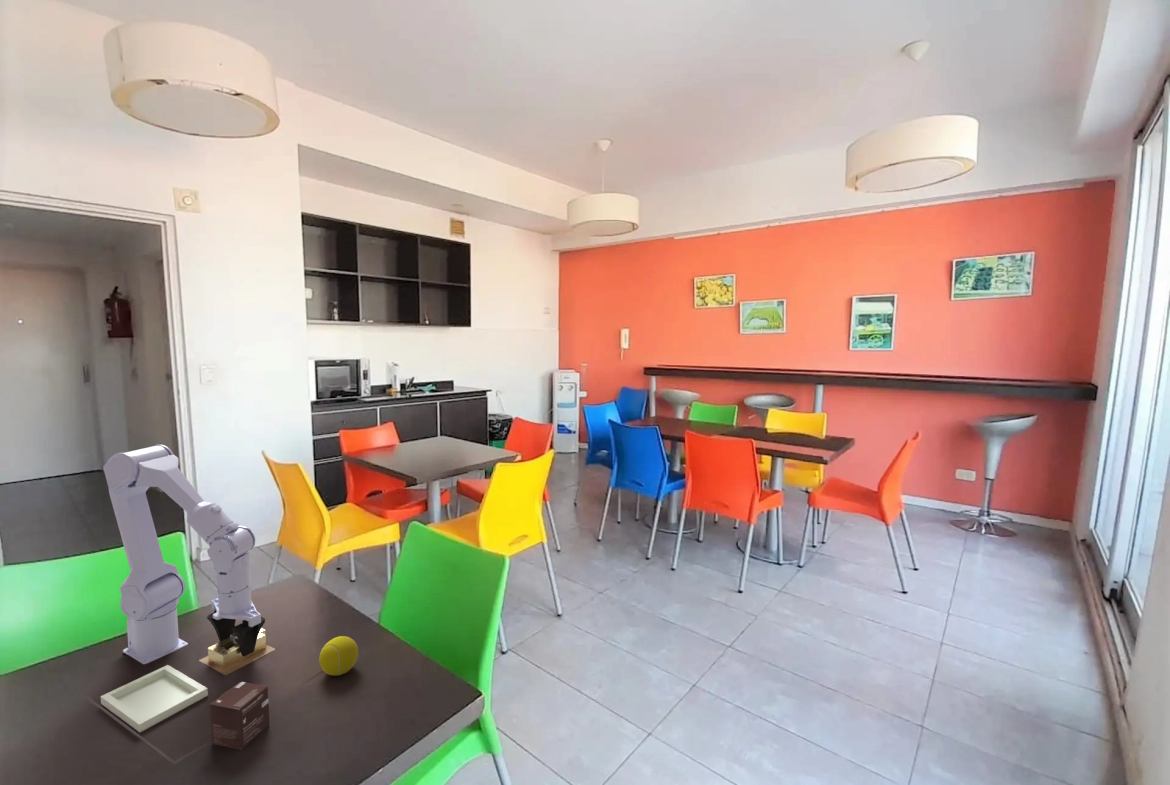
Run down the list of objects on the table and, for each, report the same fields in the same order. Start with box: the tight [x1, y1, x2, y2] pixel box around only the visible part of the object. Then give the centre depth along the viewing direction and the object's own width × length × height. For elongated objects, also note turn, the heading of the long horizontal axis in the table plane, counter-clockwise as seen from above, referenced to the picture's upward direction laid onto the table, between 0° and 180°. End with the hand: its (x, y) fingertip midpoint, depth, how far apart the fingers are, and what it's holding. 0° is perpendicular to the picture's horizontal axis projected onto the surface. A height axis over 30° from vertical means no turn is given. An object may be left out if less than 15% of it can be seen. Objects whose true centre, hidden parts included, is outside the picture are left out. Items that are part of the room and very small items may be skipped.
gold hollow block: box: [207, 627, 267, 670], centre depth 109 cm, size 6×10×3 cm, turn 153°
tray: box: [100, 664, 209, 734], centre depth 95 cm, size 14×10×2 cm
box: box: [209, 681, 271, 750], centre depth 87 cm, size 6×6×7 cm
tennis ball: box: [318, 635, 359, 677], centre depth 104 cm, size 7×7×7 cm
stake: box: [230, 633, 239, 647], centre depth 108 cm, size 4×1×4 cm, turn 63°
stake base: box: [198, 644, 276, 677], centre depth 108 cm, size 10×10×1 cm
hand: (237, 648), depth 108 cm, fingers open, 7 cm apart
